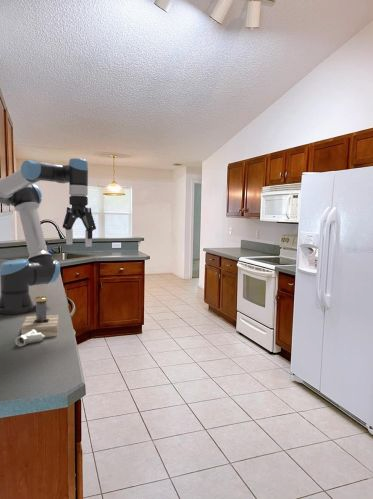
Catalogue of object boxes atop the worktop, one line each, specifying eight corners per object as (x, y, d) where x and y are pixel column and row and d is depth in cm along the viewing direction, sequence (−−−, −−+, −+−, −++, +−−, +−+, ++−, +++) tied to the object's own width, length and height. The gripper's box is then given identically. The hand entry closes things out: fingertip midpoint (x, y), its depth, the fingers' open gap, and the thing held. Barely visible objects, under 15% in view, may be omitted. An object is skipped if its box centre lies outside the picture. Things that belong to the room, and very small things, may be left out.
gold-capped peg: (36, 329, 135) (35, 296, 134) (48, 328, 137) (47, 296, 135) (34, 333, 131) (34, 299, 130) (47, 332, 132) (46, 299, 131)
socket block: (26, 326, 139) (26, 316, 138) (58, 324, 142) (58, 315, 142) (21, 338, 125) (21, 327, 125) (57, 335, 129) (56, 325, 129)
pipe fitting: (45, 340, 125) (28, 338, 126) (46, 330, 125) (28, 327, 126) (33, 349, 117) (15, 346, 118) (34, 338, 117) (15, 335, 118)
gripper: (104, 196, 144) (104, 247, 146) (69, 196, 159) (69, 243, 161) (89, 194, 138) (89, 248, 140) (54, 195, 153) (54, 243, 155)
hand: (78, 245), depth 150 cm, fingers open, 13 cm apart
